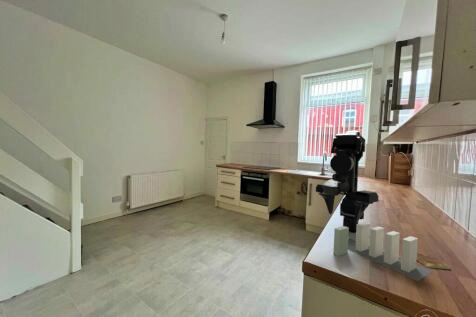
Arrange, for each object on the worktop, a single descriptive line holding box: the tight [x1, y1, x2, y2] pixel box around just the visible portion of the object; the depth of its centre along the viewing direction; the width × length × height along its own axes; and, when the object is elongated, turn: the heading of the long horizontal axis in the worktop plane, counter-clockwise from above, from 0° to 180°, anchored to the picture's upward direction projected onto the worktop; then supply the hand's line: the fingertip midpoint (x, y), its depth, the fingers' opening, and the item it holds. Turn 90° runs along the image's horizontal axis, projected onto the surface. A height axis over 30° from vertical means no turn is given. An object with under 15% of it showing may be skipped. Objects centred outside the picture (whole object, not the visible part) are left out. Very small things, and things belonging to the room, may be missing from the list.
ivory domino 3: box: [383, 230, 401, 265], centre depth 64 cm, size 5×2×9 cm, turn 119°
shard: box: [416, 252, 451, 270], centre depth 66 cm, size 11×8×2 cm
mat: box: [348, 238, 434, 282], centre depth 67 cm, size 10×25×1 cm, turn 29°
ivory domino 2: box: [369, 226, 385, 258], centre depth 68 cm, size 5×2×9 cm, turn 119°
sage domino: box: [332, 225, 350, 257], centre depth 68 cm, size 5×2×9 cm, turn 119°
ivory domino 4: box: [401, 235, 419, 272], centre depth 60 cm, size 5×2×9 cm, turn 119°
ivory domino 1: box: [355, 222, 371, 252], centre depth 72 cm, size 5×2×9 cm, turn 119°
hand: (342, 217), depth 68 cm, fingers open, 9 cm apart
